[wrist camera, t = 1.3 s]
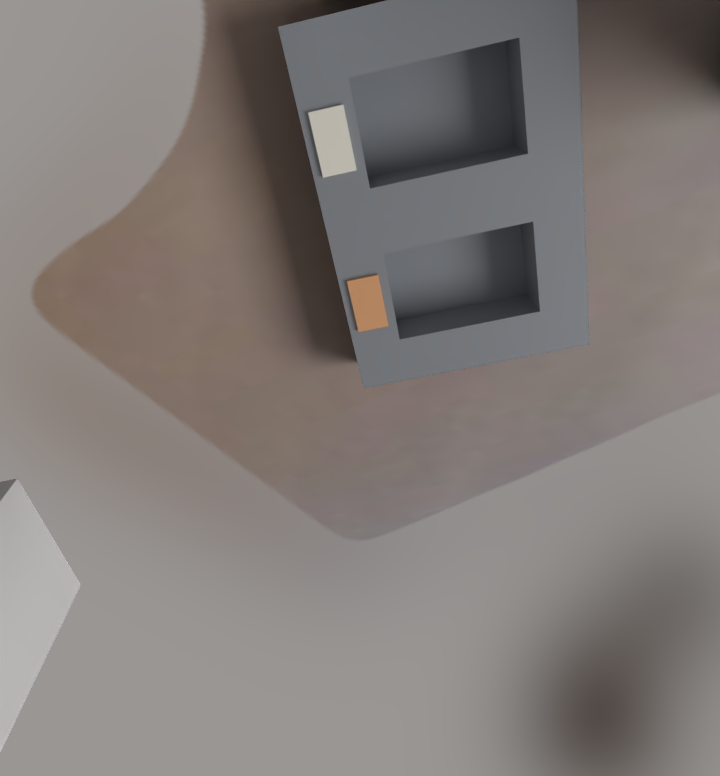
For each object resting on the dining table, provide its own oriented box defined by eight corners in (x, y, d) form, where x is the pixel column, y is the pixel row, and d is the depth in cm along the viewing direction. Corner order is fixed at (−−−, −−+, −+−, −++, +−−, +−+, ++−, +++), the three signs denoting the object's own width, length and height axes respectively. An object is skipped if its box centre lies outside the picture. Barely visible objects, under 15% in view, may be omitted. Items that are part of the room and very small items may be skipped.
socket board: (284, 28, 33) (277, 26, 30) (552, -38, 32) (576, -47, 28) (362, 362, 42) (363, 389, 39) (570, 321, 41) (590, 345, 38)
